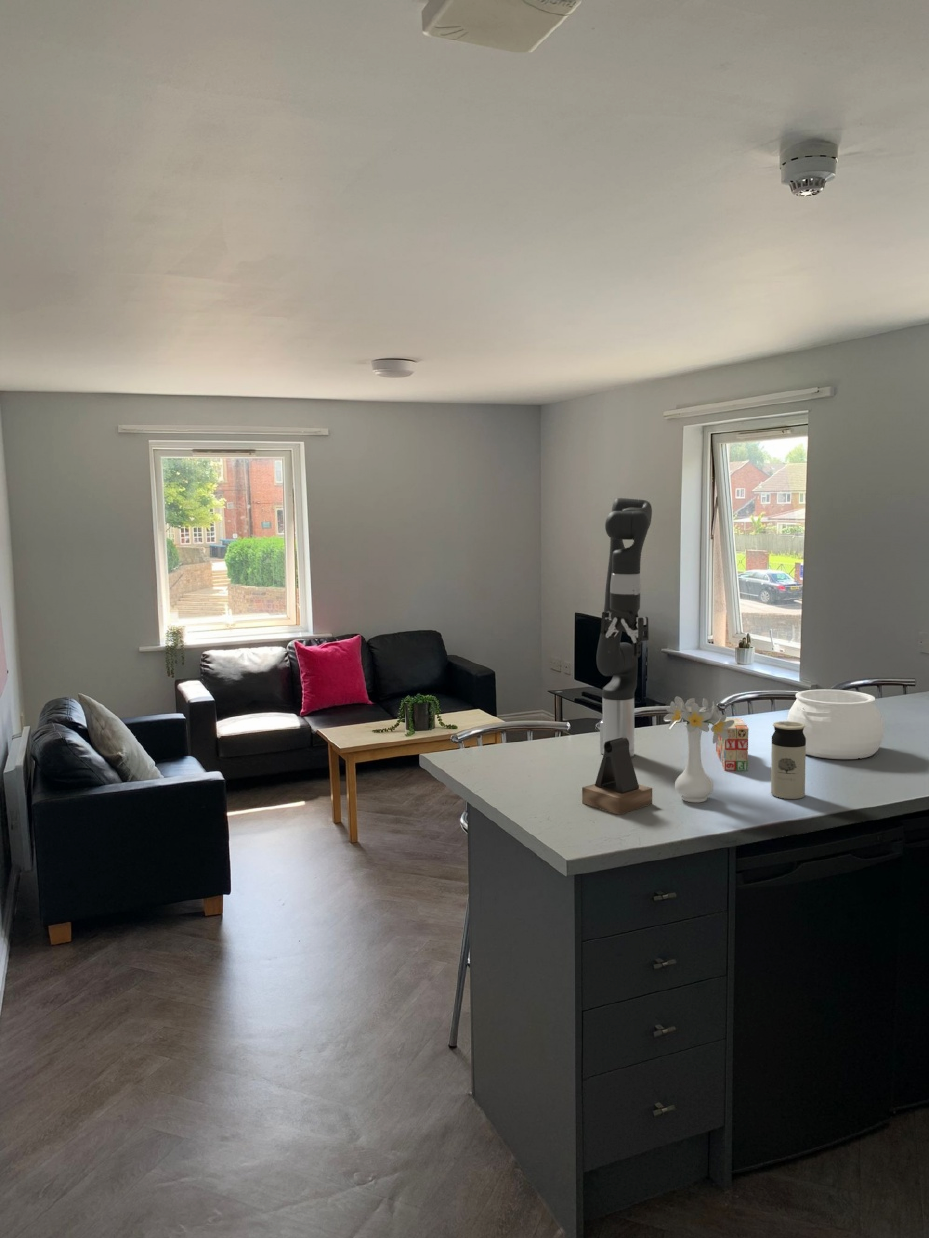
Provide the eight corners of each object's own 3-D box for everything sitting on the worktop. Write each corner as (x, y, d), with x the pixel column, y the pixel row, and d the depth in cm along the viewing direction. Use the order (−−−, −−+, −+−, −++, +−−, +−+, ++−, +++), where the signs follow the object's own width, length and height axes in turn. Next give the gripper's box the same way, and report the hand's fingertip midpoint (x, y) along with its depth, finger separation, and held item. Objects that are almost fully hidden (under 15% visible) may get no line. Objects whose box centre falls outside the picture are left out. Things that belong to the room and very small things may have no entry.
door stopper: (594, 786, 224) (594, 738, 223) (611, 781, 228) (610, 734, 226) (622, 794, 217) (622, 744, 216) (639, 789, 221) (639, 740, 219)
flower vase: (714, 813, 213) (715, 709, 211) (650, 797, 227) (650, 698, 224) (744, 801, 222) (745, 700, 219) (681, 786, 236) (681, 691, 233)
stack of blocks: (715, 751, 270) (715, 710, 269) (737, 751, 269) (737, 711, 268) (724, 771, 249) (724, 727, 248) (748, 771, 248) (748, 727, 247)
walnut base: (582, 803, 224) (582, 787, 223) (615, 793, 231) (615, 777, 231) (619, 814, 214) (619, 798, 214) (652, 804, 222) (652, 788, 221)
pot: (854, 768, 248) (856, 709, 246) (767, 751, 268) (767, 697, 266) (900, 749, 267) (902, 694, 265) (815, 735, 287) (816, 684, 285)
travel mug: (777, 788, 232) (778, 719, 230) (809, 793, 227) (810, 723, 225) (766, 796, 226) (766, 725, 224) (798, 802, 221) (799, 729, 219)
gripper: (594, 589, 231) (593, 652, 234) (635, 595, 220) (633, 660, 222) (615, 587, 236) (613, 649, 238) (657, 593, 224) (654, 657, 227)
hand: (623, 654), depth 230 cm, fingers open, 8 cm apart
